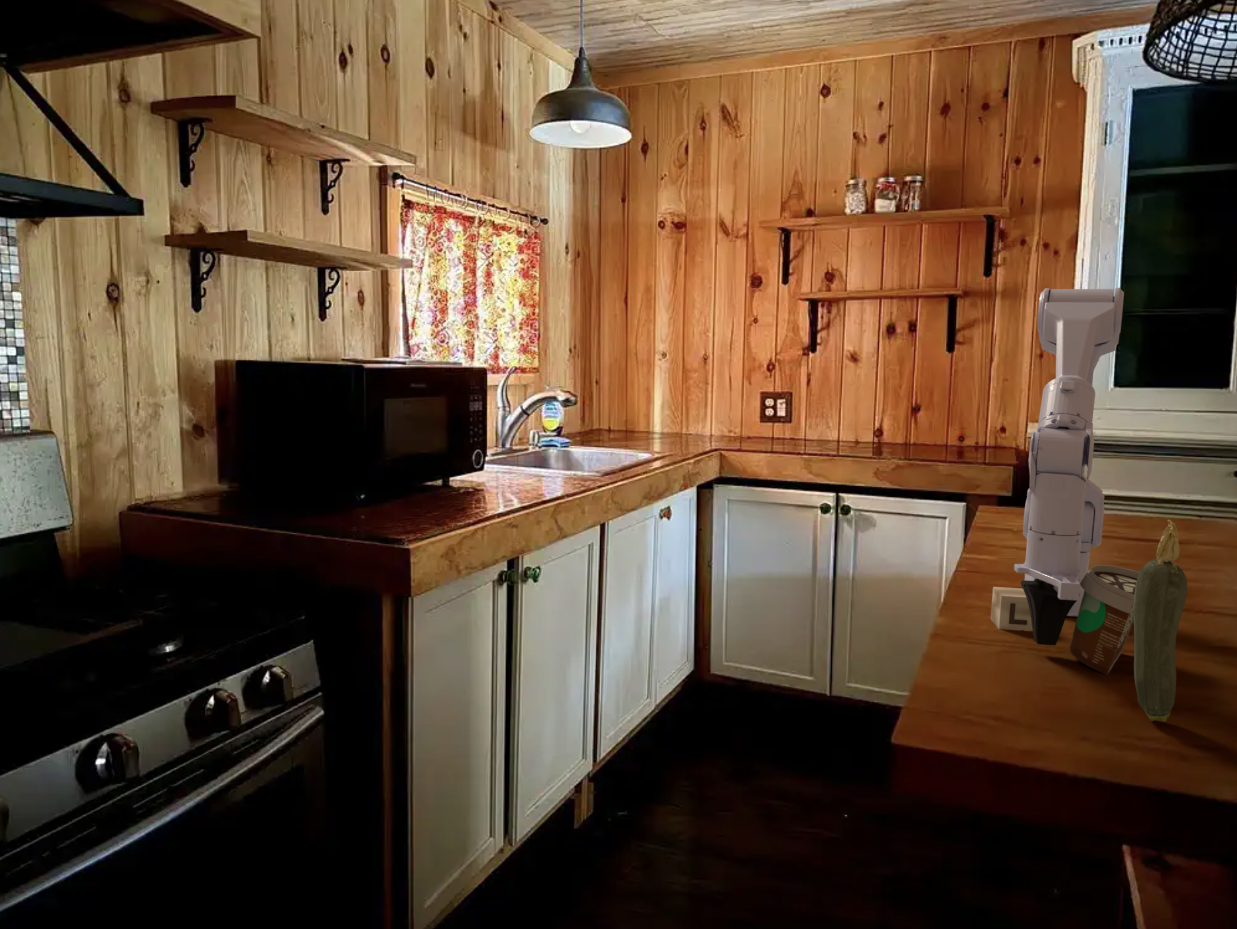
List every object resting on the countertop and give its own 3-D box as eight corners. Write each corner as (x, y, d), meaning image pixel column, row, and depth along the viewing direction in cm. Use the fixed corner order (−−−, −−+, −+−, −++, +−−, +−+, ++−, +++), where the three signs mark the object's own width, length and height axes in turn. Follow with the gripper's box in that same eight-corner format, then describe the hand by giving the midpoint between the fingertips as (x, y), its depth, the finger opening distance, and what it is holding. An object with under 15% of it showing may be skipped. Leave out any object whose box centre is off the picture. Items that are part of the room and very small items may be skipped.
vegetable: (1159, 734, 89) (1180, 527, 86) (1113, 718, 93) (1132, 519, 90) (1181, 723, 92) (1202, 522, 89) (1135, 709, 95) (1154, 515, 93)
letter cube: (990, 619, 126) (993, 586, 125) (1025, 621, 125) (1028, 588, 124) (999, 630, 121) (1001, 596, 121) (1035, 632, 120) (1038, 598, 120)
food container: (1070, 629, 117) (1096, 555, 115) (1123, 650, 114) (1151, 574, 111) (1047, 655, 107) (1075, 575, 105) (1104, 678, 104) (1135, 596, 101)
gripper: (1003, 517, 117) (995, 622, 119) (1035, 542, 103) (1025, 661, 105) (1063, 520, 116) (1054, 626, 118) (1104, 545, 102) (1093, 665, 104)
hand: (1045, 643), depth 111 cm, fingers closed
